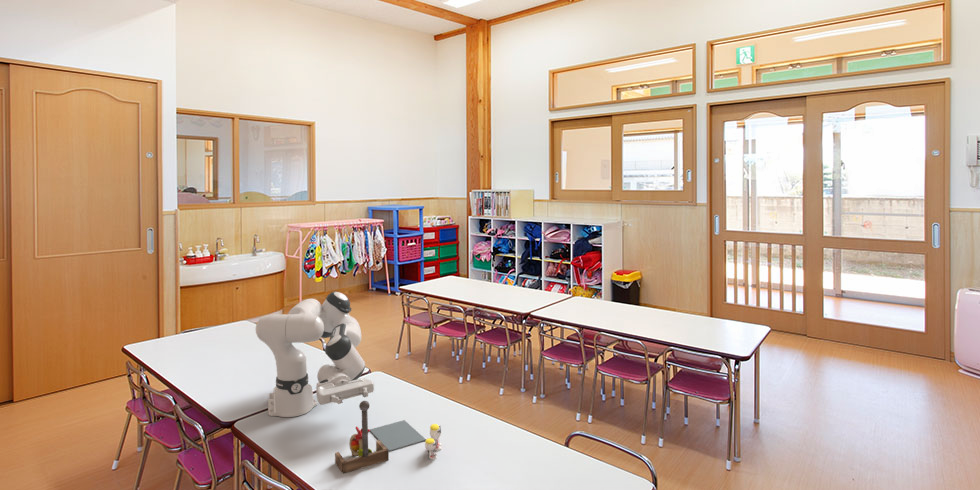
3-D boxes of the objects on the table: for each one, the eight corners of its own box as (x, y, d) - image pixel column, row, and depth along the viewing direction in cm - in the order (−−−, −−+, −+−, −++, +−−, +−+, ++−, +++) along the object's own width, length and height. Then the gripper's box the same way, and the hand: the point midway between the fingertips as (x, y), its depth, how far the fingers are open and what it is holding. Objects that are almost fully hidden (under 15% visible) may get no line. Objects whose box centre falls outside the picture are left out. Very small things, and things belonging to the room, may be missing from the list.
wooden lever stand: (335, 462, 175) (333, 398, 172) (379, 449, 183) (378, 388, 180) (344, 475, 168) (342, 408, 165) (389, 461, 176) (388, 397, 173)
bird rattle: (347, 465, 177) (364, 463, 172) (337, 432, 178) (354, 429, 173) (361, 457, 182) (378, 455, 177) (351, 425, 184) (368, 422, 178)
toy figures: (436, 461, 177) (436, 437, 176) (423, 459, 177) (423, 436, 176) (444, 443, 189) (444, 420, 187) (432, 442, 189) (432, 419, 188)
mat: (369, 430, 197) (369, 429, 197) (404, 421, 205) (404, 420, 205) (389, 451, 182) (389, 450, 182) (425, 440, 190) (425, 439, 190)
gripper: (366, 387, 205) (381, 399, 194) (312, 400, 194) (325, 414, 182) (365, 371, 205) (380, 382, 193) (312, 383, 193) (324, 396, 182)
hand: (353, 398), depth 188 cm, fingers open, 8 cm apart
